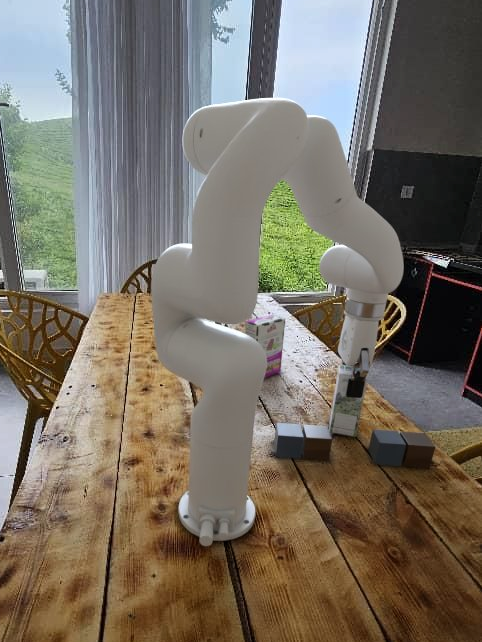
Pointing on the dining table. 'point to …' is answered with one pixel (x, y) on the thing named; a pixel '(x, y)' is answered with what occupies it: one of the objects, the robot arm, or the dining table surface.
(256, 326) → the candy bar box
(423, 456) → the walnut block
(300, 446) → the slate block
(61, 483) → the dining table surface
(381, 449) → the slate block
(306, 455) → the walnut block
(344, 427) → the syrup box
